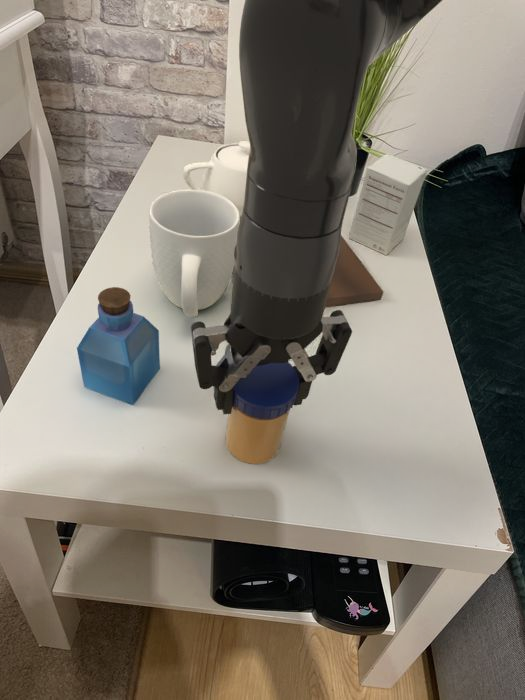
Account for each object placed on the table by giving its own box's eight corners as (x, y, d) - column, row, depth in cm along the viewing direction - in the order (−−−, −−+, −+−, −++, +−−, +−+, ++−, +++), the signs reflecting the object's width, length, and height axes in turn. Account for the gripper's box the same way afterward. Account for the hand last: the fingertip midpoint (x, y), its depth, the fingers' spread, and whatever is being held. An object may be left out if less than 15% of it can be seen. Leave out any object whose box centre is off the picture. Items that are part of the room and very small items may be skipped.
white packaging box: (366, 221, 92) (386, 152, 83) (404, 238, 89) (429, 168, 81) (346, 238, 87) (366, 166, 78) (386, 256, 85) (410, 184, 76)
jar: (270, 411, 59) (282, 355, 52) (288, 457, 55) (304, 403, 48) (219, 422, 57) (224, 365, 50) (234, 469, 54) (242, 416, 47)
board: (336, 238, 87) (338, 230, 86) (381, 299, 77) (384, 291, 76) (220, 249, 81) (220, 241, 80) (251, 317, 70) (253, 309, 69)
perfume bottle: (84, 386, 59) (68, 305, 50) (113, 351, 63) (104, 271, 55) (133, 405, 58) (125, 325, 49) (159, 368, 62) (157, 289, 54)
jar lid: (300, 420, 48) (303, 408, 47) (229, 419, 47) (230, 407, 46) (292, 365, 53) (295, 353, 51) (227, 364, 52) (228, 351, 50)
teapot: (192, 229, 84) (193, 165, 76) (173, 187, 93) (173, 126, 85) (316, 219, 91) (329, 159, 83) (288, 180, 99) (297, 123, 92)
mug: (232, 345, 66) (241, 260, 57) (144, 340, 65) (138, 252, 56) (232, 273, 77) (240, 192, 68) (156, 268, 76) (153, 184, 66)
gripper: (198, 302, 35) (193, 444, 47) (390, 288, 39) (341, 423, 51) (182, 240, 40) (181, 382, 52) (354, 232, 44) (317, 367, 56)
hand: (260, 402), depth 51 cm, fingers closed on jar lid, 6 cm apart
